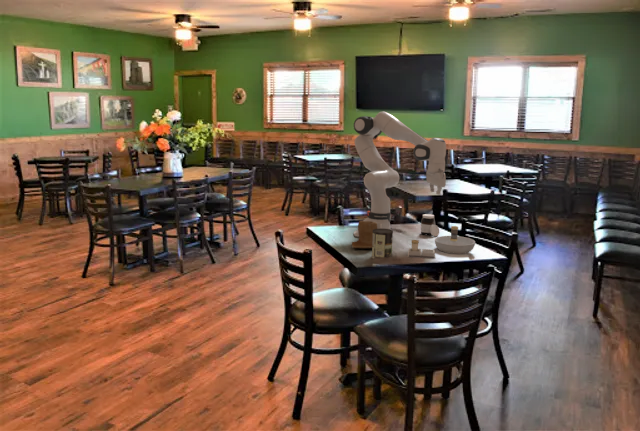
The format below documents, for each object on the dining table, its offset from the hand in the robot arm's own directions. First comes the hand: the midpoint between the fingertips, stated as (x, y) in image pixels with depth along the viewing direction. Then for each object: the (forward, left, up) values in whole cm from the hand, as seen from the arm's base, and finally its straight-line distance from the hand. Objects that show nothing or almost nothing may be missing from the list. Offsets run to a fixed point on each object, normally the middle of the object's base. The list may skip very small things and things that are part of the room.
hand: (435, 193), depth 310 cm
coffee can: (-27, -34, -29) cm, 52 cm away
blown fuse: (+10, -17, -22) cm, 30 cm away
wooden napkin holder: (-37, -16, -29) cm, 50 cm away
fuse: (-11, -31, -28) cm, 43 cm away
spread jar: (0, +24, -29) cm, 38 cm away
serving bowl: (+11, -16, -30) cm, 35 cm away
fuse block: (-7, -31, -29) cm, 43 cm away
